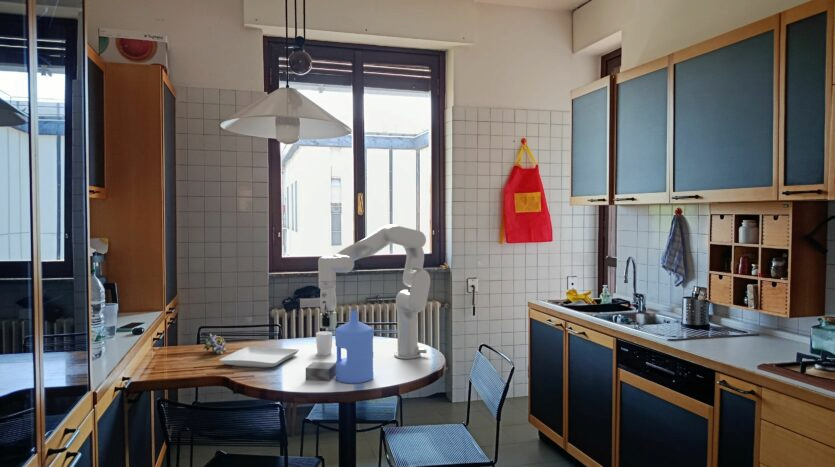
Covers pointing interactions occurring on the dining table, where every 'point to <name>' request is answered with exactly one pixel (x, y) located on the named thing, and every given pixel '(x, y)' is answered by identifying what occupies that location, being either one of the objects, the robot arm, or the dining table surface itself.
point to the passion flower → (215, 344)
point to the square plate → (259, 356)
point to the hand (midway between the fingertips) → (328, 324)
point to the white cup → (324, 342)
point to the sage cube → (332, 320)
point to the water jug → (354, 351)
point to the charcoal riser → (320, 371)
